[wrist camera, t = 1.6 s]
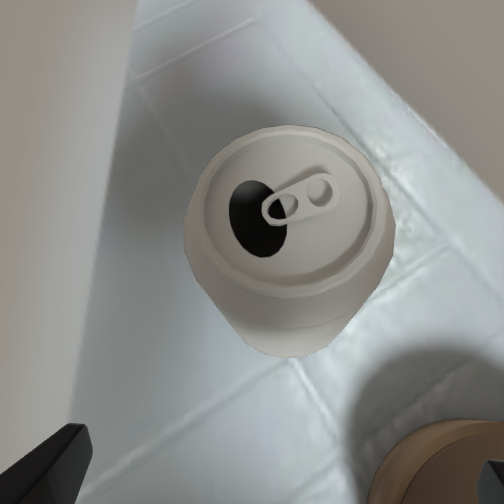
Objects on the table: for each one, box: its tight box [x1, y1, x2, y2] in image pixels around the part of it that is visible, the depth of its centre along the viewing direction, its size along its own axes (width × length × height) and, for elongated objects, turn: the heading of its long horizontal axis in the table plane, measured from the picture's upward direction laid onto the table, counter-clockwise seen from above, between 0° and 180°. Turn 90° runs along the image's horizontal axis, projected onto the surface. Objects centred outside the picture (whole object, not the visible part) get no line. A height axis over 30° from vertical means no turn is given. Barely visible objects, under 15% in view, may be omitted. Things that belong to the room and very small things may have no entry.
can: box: [184, 124, 396, 359], centre depth 18 cm, size 8×8×12 cm
